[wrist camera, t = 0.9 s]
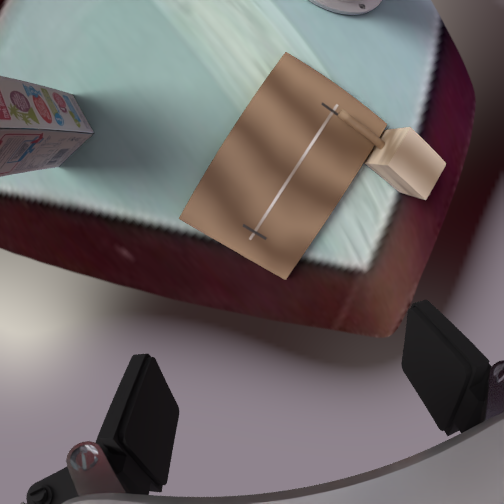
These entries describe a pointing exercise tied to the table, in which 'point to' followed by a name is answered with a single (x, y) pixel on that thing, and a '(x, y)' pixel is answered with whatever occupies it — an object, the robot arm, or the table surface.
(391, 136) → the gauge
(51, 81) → the table surface
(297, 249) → the board
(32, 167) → the juice carton
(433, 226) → the table surface
